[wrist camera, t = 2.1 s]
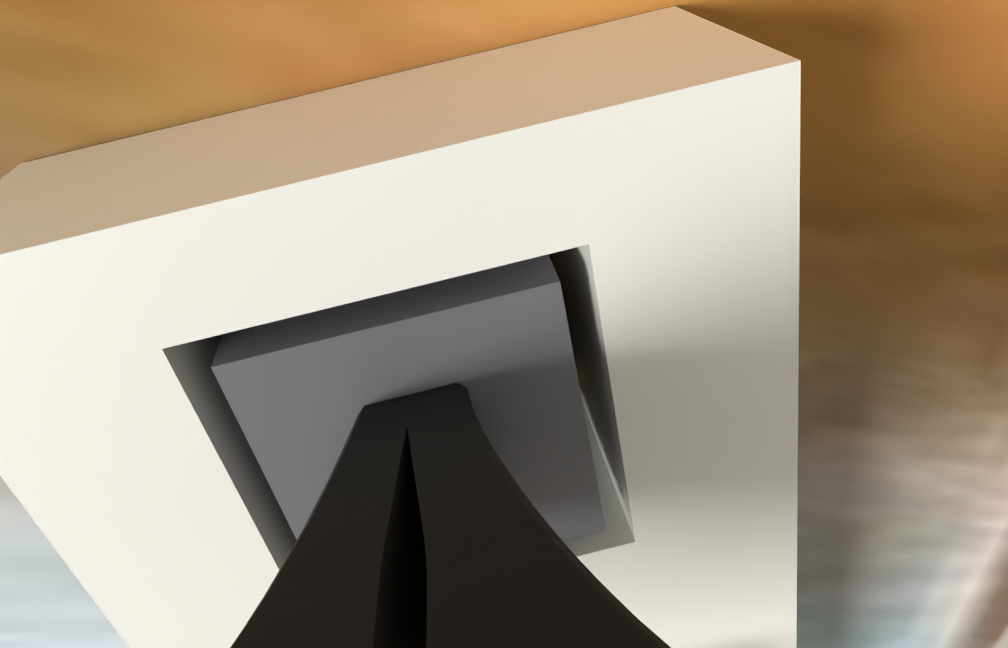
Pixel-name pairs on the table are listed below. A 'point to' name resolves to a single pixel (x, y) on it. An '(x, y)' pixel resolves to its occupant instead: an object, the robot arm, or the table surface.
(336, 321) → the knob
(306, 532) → the robot arm
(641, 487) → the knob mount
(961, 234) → the table surface
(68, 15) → the table surface
